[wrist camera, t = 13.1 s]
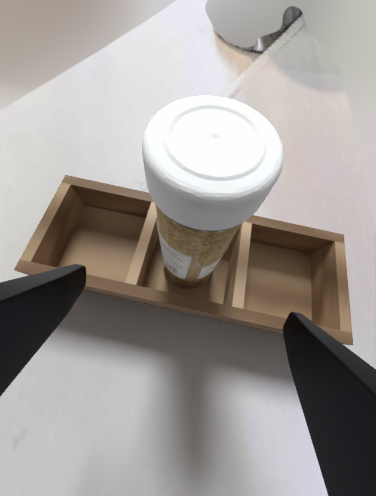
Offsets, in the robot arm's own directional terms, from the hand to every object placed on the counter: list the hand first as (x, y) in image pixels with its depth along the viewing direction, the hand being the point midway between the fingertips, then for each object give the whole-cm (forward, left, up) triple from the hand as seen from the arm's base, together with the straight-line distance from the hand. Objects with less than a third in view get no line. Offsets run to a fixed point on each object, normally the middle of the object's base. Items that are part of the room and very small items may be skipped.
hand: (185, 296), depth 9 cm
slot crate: (+4, 0, -10) cm, 11 cm away
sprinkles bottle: (+4, 0, -9) cm, 10 cm away
